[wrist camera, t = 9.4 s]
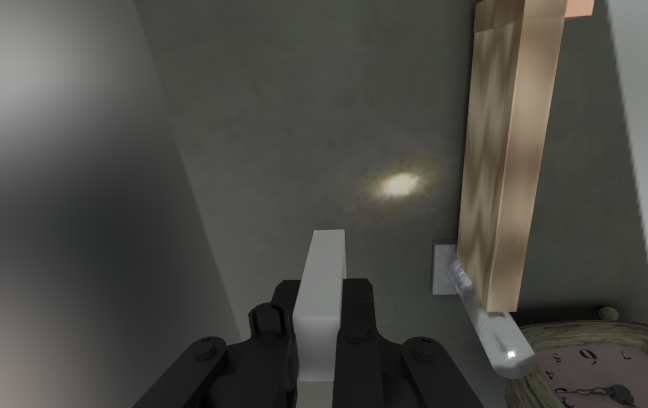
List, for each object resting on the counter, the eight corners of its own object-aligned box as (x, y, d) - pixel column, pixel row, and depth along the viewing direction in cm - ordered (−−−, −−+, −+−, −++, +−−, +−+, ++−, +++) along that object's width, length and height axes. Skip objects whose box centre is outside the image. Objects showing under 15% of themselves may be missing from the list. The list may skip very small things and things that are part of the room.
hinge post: (487, 288, 37) (552, 394, 25) (430, 289, 38) (467, 393, 26) (493, 238, 35) (567, 328, 23) (433, 240, 36) (474, 329, 24)
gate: (478, 255, 34) (516, 311, 26) (455, 255, 34) (486, 311, 26) (505, 1, 26) (571, -27, 18) (475, 4, 26) (528, -23, 18)
